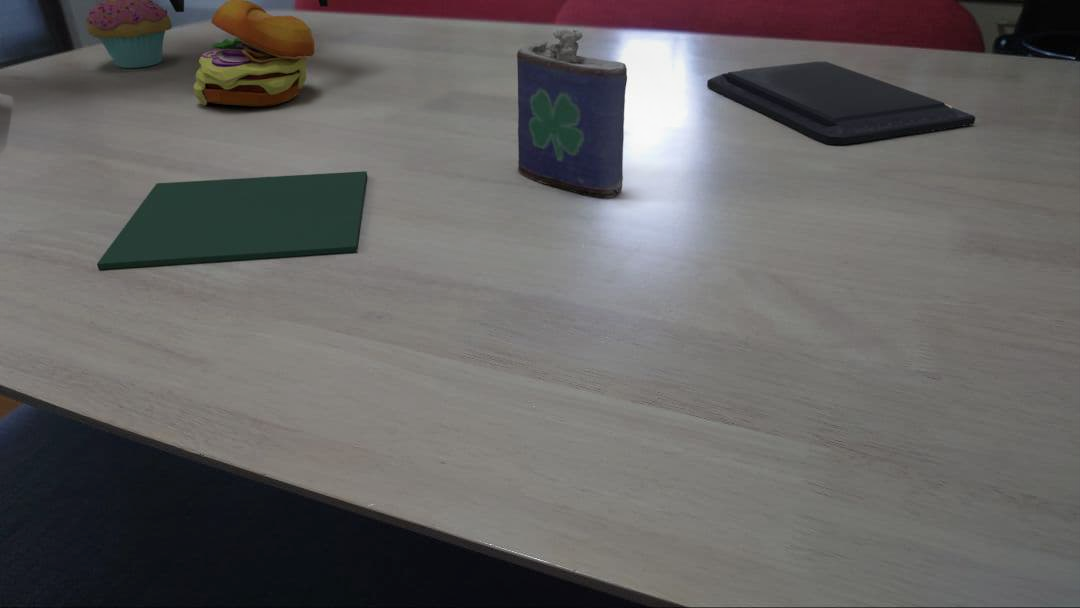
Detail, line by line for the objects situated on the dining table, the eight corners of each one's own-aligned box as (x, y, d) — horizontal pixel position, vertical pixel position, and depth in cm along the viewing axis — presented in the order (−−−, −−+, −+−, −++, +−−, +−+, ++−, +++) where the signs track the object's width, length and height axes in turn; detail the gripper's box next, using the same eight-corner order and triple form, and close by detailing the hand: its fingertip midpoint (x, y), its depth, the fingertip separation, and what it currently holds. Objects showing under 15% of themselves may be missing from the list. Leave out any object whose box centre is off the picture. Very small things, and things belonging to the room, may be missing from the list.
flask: (629, 191, 58) (635, 34, 52) (603, 203, 56) (607, 42, 51) (533, 162, 63) (530, 17, 58) (507, 172, 61) (501, 24, 56)
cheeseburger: (186, 91, 81) (189, -14, 78) (295, 103, 87) (303, 4, 83) (200, 116, 73) (205, 0, 70) (319, 127, 79) (329, 20, 75)
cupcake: (128, 76, 88) (96, -45, 82) (81, 66, 92) (48, -49, 86) (195, 59, 94) (170, -54, 88) (148, 51, 98) (121, -58, 92)
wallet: (705, 66, 81) (835, 53, 85) (703, 85, 82) (832, 71, 86) (828, 124, 64) (983, 105, 68) (824, 148, 65) (977, 127, 69)
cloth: (98, 269, 48) (96, 263, 48) (157, 188, 59) (156, 183, 59) (356, 252, 50) (356, 246, 50) (367, 176, 61) (366, 171, 61)
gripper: (373, -153, 89) (384, 18, 83) (132, -148, 86) (128, 29, 80) (365, -213, 81) (377, -30, 76) (101, -210, 79) (94, -21, 73)
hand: (249, 0), depth 78 cm, fingers open, 13 cm apart
